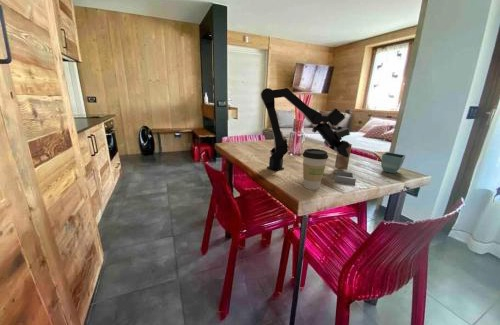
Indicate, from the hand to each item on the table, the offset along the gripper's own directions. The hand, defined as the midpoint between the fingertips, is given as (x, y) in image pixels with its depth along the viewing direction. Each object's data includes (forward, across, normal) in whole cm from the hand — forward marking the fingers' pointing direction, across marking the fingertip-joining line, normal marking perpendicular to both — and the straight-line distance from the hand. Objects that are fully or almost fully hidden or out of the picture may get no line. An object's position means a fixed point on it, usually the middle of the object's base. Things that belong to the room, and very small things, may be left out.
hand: (345, 155), depth 108 cm
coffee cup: (-10, -22, +22) cm, 33 cm away
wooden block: (+4, 0, +6) cm, 7 cm away
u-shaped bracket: (+2, -12, +9) cm, 16 cm away
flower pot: (+23, 0, -12) cm, 26 cm away
